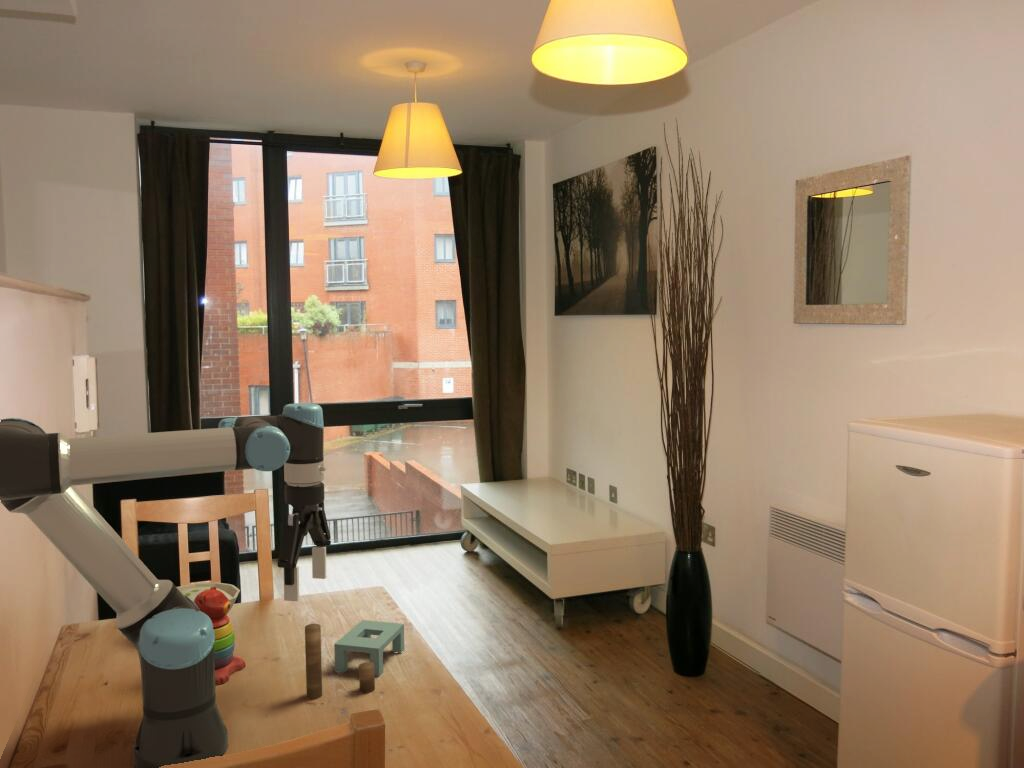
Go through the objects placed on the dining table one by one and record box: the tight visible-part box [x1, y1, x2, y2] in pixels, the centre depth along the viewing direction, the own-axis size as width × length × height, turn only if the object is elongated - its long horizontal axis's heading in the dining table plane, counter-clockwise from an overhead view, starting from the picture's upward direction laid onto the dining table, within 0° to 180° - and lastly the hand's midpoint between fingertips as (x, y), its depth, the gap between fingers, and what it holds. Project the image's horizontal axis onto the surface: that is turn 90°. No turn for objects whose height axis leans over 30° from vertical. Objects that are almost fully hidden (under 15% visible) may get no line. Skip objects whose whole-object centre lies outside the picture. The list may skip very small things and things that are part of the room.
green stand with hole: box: [333, 619, 405, 677], centre depth 181 cm, size 14×10×6 cm
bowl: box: [176, 581, 241, 616], centre depth 198 cm, size 19×19×10 cm
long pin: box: [304, 623, 323, 700], centre depth 165 cm, size 3×3×14 cm
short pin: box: [358, 661, 376, 694], centre depth 168 cm, size 3×3×5 cm
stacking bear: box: [194, 587, 246, 686], centre depth 175 cm, size 11×10×18 cm
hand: (306, 588), depth 166 cm, fingers open, 13 cm apart
